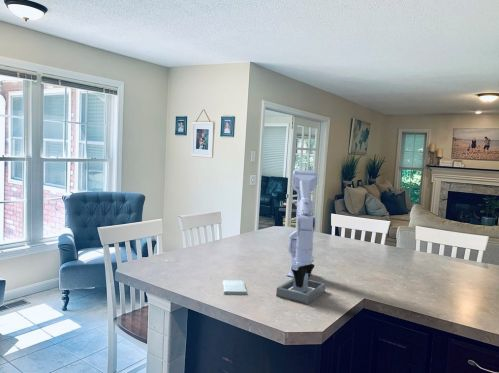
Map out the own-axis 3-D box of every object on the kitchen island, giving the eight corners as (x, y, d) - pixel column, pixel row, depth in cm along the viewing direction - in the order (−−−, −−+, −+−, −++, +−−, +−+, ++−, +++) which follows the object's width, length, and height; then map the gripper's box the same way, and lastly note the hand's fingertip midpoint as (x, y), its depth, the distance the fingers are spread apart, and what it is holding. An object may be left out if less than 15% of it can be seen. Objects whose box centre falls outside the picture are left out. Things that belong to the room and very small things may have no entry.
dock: (295, 284, 150) (296, 276, 150) (325, 291, 144) (325, 283, 143) (276, 296, 137) (276, 287, 136) (307, 304, 130) (308, 295, 130)
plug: (297, 287, 143) (298, 269, 143) (307, 289, 141) (308, 271, 140) (293, 290, 140) (293, 272, 139) (303, 292, 138) (303, 274, 137)
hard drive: (246, 291, 137) (243, 280, 149) (223, 291, 136) (222, 279, 148) (246, 296, 137) (243, 284, 149) (223, 295, 136) (222, 283, 148)
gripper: (302, 243, 147) (300, 277, 148) (285, 250, 135) (282, 287, 136) (319, 246, 143) (317, 281, 144) (303, 253, 131) (301, 292, 132)
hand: (301, 285), depth 140 cm, fingers closed on plug, 4 cm apart
